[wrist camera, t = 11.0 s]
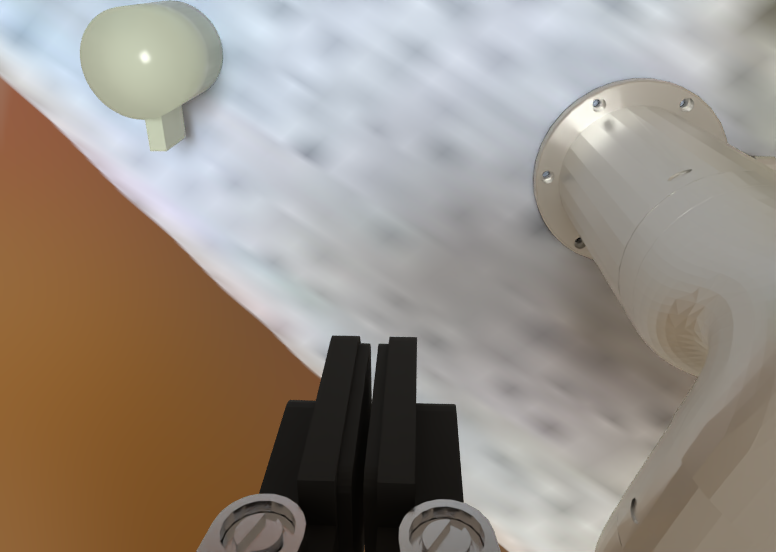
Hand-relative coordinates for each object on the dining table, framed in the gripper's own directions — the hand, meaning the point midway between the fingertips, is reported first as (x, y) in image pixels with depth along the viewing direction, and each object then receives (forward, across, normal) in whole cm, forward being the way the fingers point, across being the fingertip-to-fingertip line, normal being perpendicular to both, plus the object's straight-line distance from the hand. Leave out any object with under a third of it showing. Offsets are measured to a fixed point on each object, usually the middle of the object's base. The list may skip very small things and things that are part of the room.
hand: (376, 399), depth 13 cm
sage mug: (+33, +15, -2) cm, 36 cm away
